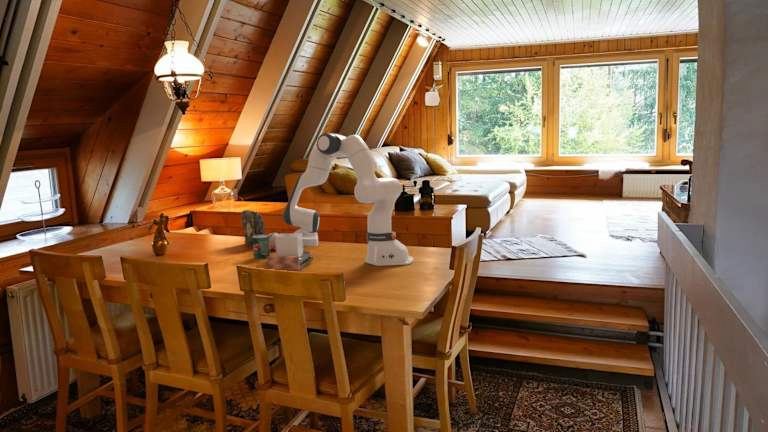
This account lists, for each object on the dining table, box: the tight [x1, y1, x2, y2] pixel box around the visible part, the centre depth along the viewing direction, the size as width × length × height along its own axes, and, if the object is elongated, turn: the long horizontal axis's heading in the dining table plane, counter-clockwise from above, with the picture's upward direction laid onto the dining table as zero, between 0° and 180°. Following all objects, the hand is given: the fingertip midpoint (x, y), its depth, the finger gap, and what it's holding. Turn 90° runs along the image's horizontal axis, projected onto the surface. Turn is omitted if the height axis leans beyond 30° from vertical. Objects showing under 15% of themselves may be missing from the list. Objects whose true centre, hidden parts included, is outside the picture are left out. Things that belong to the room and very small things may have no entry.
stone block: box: [240, 209, 266, 249], centre depth 317 cm, size 18×9×20 cm, turn 48°
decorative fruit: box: [268, 230, 280, 251], centre depth 306 cm, size 9×8×10 cm
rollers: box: [299, 251, 312, 265], centre depth 270 cm, size 12×21×3 cm, turn 172°
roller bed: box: [266, 255, 314, 272], centre depth 268 cm, size 14×26×7 cm, turn 172°
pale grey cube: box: [275, 232, 304, 258], centre depth 267 cm, size 10×8×10 cm
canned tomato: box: [252, 234, 271, 261], centre depth 287 cm, size 8×8×11 cm
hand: (292, 244), depth 271 cm, fingers closed, pressing on pale grey cube
